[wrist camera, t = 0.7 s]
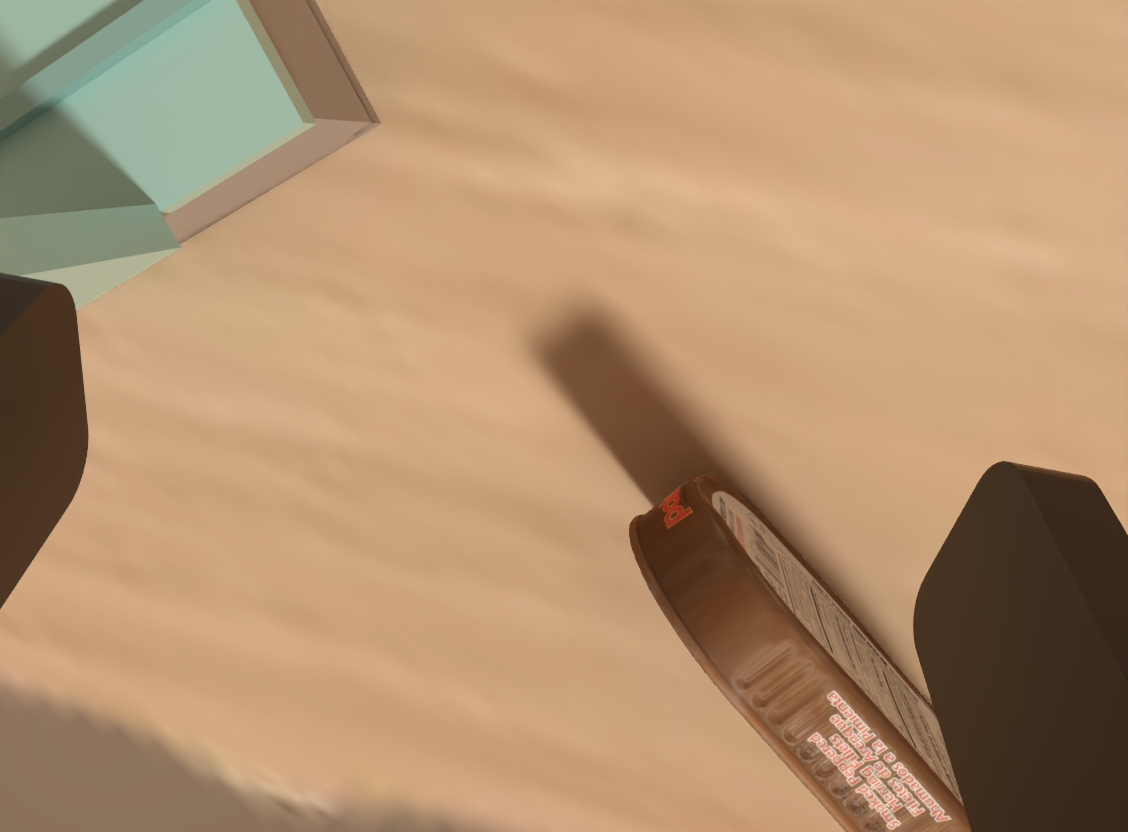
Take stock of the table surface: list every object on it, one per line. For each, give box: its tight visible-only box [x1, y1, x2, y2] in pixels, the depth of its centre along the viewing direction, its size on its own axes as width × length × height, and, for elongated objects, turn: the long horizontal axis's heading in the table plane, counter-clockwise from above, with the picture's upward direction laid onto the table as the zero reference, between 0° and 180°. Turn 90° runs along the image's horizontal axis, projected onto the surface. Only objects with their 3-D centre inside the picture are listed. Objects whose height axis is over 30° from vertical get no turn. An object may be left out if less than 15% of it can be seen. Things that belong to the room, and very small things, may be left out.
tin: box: [629, 475, 972, 832], centre depth 29 cm, size 15×3×8 cm, turn 42°
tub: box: [164, 0, 381, 244], centre depth 29 cm, size 12×11×6 cm
